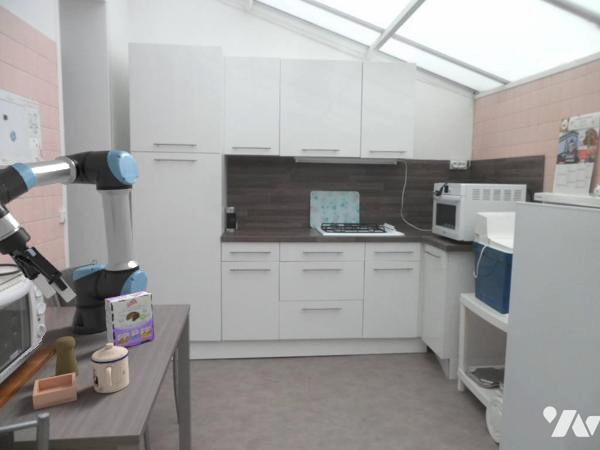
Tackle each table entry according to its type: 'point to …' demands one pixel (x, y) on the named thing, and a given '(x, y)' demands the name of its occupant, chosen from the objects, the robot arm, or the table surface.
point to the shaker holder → (54, 390)
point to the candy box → (129, 319)
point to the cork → (65, 356)
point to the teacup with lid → (110, 369)
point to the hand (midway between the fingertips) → (61, 297)
